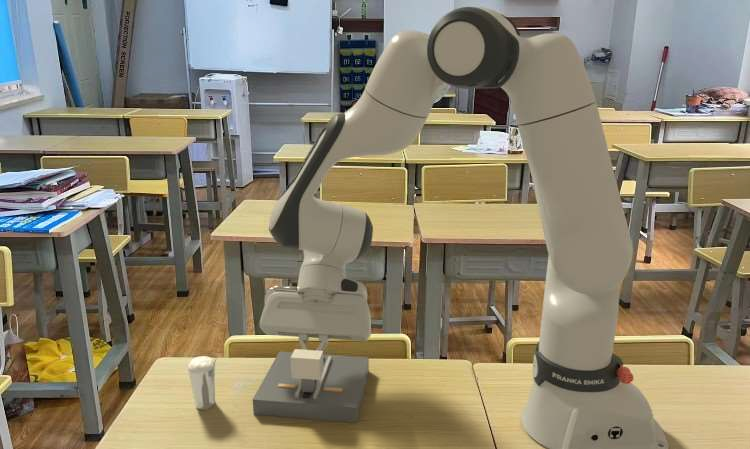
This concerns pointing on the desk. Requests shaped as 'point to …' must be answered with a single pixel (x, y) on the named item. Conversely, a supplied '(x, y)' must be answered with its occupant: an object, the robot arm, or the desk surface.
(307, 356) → the fader tab
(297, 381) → the fader console
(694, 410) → the desk surface
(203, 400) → the milkshake
